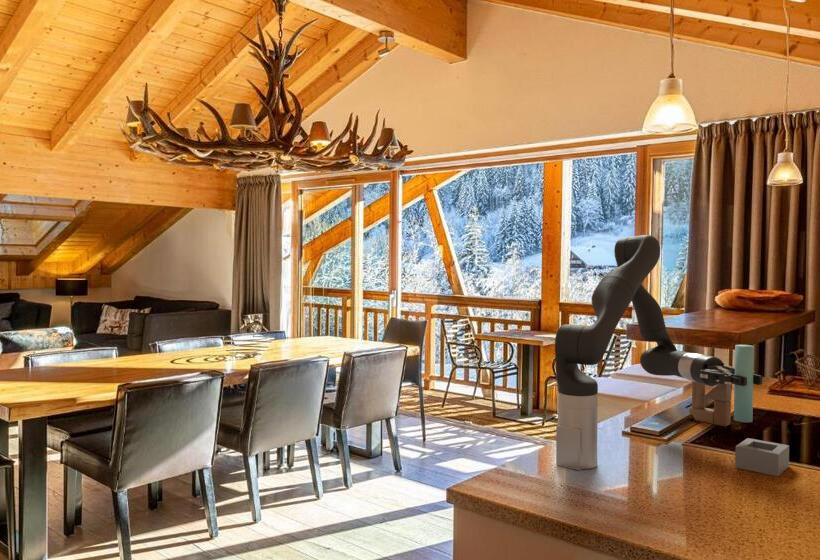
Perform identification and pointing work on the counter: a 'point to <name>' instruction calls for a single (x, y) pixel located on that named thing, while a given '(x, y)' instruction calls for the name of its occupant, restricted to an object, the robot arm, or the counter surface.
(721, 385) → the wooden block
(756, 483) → the counter surface
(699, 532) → the counter surface
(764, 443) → the socket block
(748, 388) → the peg
